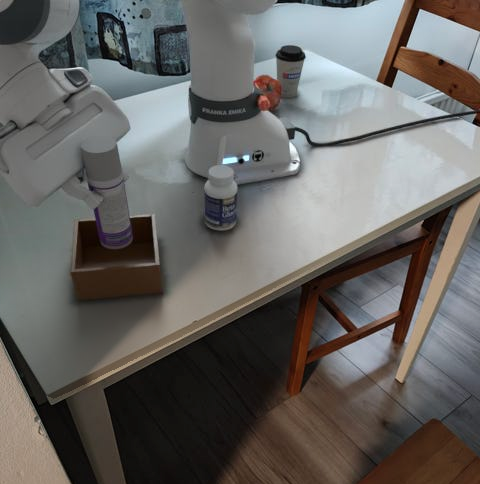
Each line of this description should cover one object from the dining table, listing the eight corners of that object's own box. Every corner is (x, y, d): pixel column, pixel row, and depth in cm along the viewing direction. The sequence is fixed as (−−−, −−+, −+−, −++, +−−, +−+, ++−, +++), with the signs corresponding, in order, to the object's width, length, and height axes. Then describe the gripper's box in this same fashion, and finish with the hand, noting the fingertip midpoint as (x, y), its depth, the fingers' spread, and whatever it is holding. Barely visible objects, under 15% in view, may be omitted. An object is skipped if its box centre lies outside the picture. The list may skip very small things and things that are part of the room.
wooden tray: (157, 241, 85) (155, 213, 81) (162, 292, 77) (159, 264, 73) (81, 247, 84) (74, 219, 80) (77, 300, 75) (70, 272, 71)
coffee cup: (268, 88, 127) (272, 44, 120) (296, 86, 128) (301, 42, 121) (277, 100, 122) (281, 55, 115) (305, 98, 124) (310, 53, 116)
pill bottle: (225, 235, 87) (225, 184, 80) (198, 224, 89) (197, 173, 82) (242, 219, 90) (244, 169, 83) (216, 209, 92) (216, 158, 85)
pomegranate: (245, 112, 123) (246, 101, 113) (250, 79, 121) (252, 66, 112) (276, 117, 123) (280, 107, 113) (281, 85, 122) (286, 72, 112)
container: (101, 229, 78) (82, 134, 67) (133, 228, 78) (119, 134, 67) (98, 249, 74) (77, 153, 63) (131, 248, 75) (116, 153, 64)
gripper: (-18, 129, 57) (75, 226, 61) (92, 63, 70) (162, 147, 74) (-35, 157, 61) (53, 245, 66) (72, 90, 74) (139, 168, 79)
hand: (112, 193), depth 70 cm, fingers closed on container, 4 cm apart
